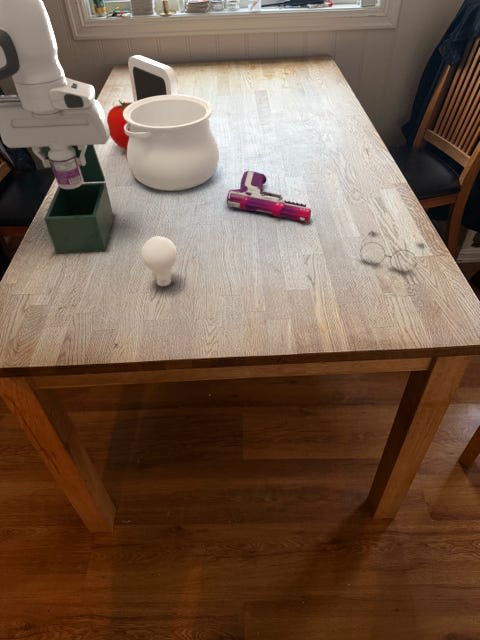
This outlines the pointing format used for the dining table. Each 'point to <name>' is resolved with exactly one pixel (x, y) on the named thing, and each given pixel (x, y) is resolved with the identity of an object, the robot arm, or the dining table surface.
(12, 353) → the dining table surface
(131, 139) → the pot
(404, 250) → the eyeglasses
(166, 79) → the computer
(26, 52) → the robot arm
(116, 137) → the tomato
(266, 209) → the toy gun
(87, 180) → the lid
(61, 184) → the pill bottle
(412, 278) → the dining table surface
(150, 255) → the light bulb
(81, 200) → the chest
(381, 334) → the dining table surface
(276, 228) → the dining table surface
